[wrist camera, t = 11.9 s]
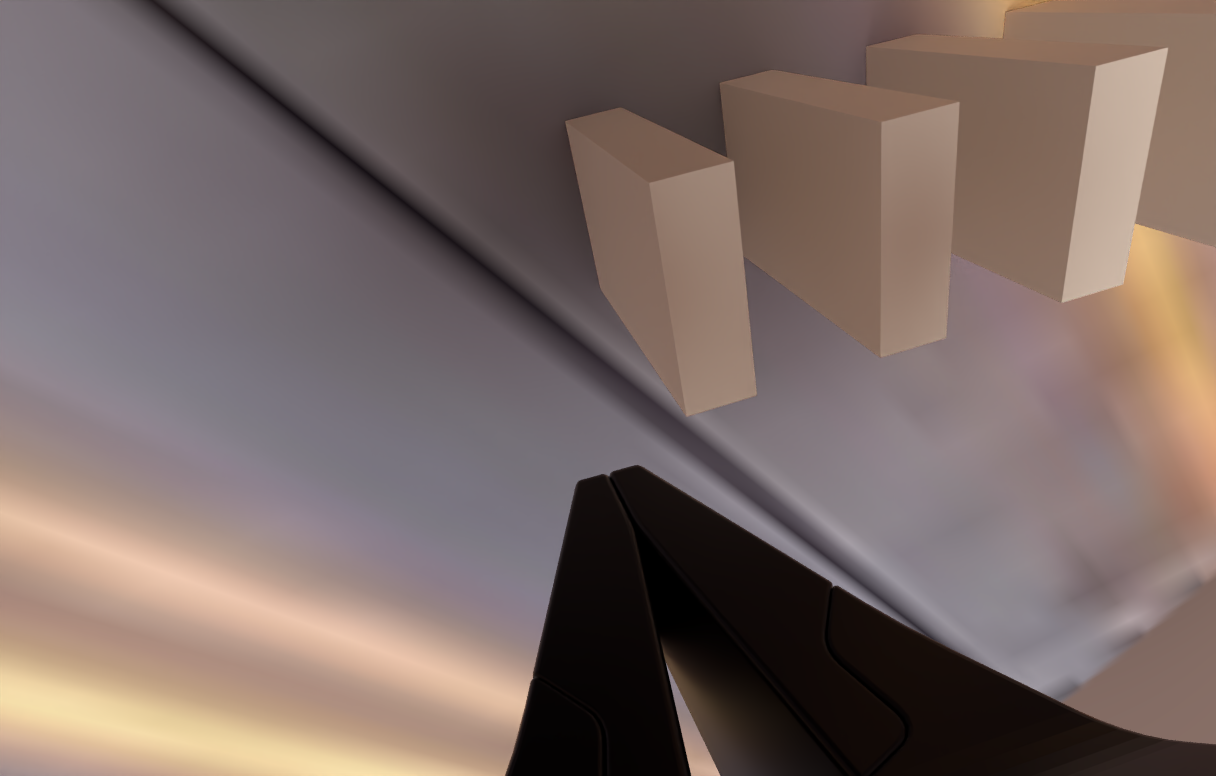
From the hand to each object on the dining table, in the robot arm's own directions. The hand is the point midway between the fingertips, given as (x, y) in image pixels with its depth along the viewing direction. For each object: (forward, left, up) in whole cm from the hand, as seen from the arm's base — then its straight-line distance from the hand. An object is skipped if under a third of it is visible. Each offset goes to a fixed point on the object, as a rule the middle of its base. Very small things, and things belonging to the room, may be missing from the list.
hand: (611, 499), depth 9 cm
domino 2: (0, +8, -13) cm, 15 cm away
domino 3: (0, +12, -13) cm, 18 cm away
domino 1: (0, +3, -13) cm, 13 cm away
